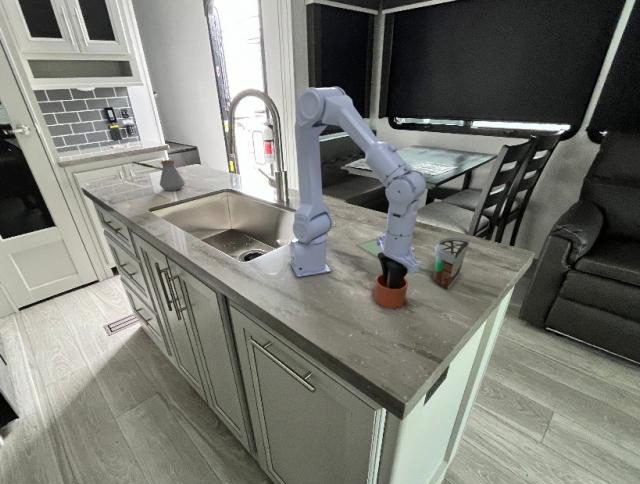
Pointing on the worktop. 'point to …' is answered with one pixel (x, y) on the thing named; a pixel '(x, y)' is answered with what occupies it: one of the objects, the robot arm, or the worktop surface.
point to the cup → (389, 293)
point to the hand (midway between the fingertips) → (391, 284)
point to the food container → (449, 260)
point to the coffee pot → (168, 175)
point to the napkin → (372, 247)
